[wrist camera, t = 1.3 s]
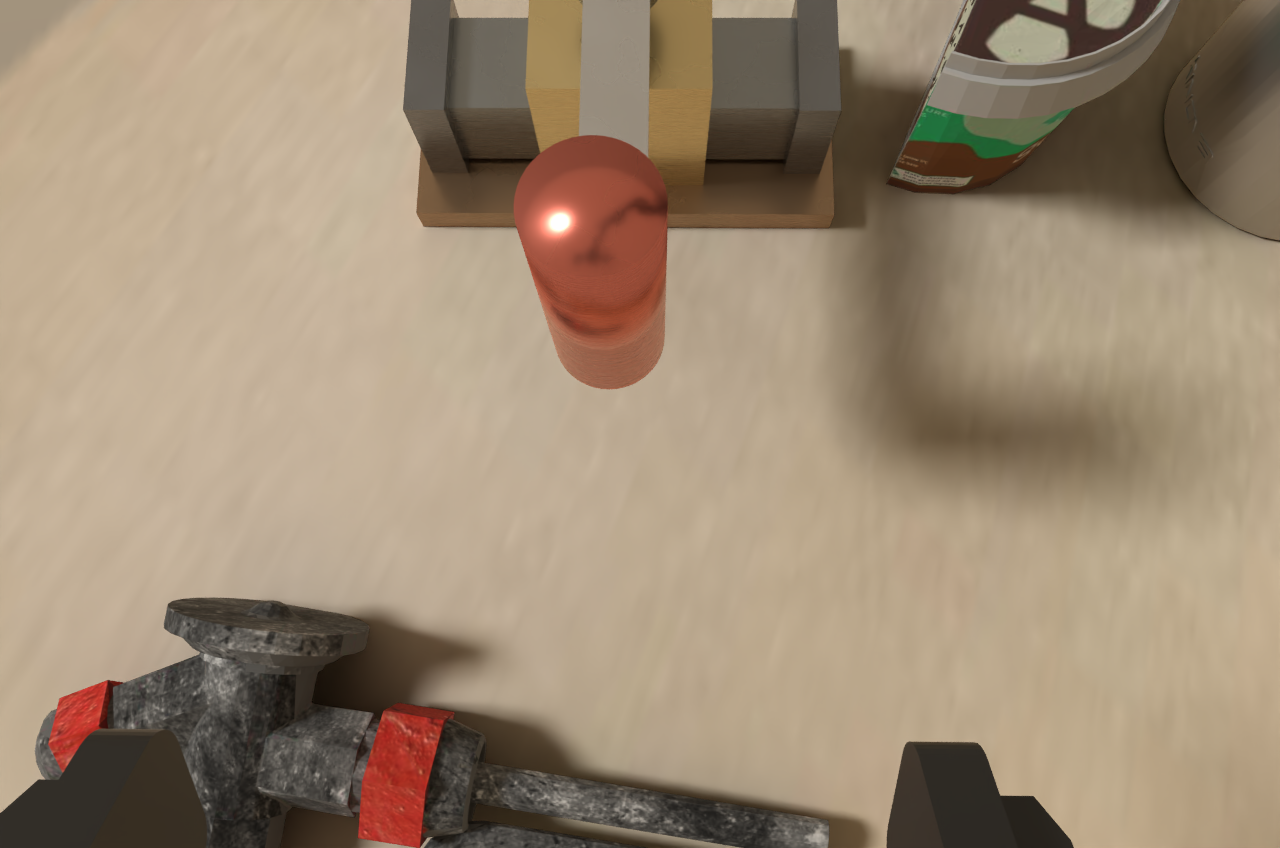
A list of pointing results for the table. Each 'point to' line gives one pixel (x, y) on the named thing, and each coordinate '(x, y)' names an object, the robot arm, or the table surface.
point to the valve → (356, 749)
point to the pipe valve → (678, 110)
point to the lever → (602, 211)
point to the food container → (1019, 83)
